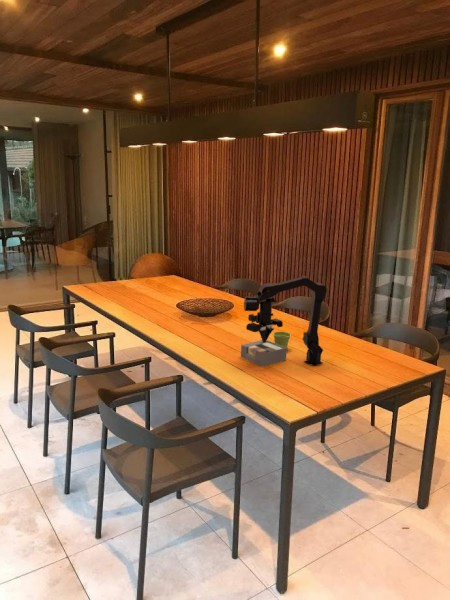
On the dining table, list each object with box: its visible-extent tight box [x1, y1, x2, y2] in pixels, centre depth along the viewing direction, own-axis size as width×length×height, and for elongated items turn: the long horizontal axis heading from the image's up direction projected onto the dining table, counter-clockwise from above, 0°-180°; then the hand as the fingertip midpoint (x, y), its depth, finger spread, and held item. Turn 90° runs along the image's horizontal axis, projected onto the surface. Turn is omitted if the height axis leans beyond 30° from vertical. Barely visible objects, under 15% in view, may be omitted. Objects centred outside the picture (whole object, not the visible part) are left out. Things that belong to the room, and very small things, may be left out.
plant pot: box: [272, 331, 292, 349], centre depth 253 cm, size 9×9×9 cm
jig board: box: [240, 339, 288, 368], centre depth 239 cm, size 16×16×6 cm
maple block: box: [248, 345, 267, 356], centre depth 235 cm, size 9×4×4 cm, turn 37°
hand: (263, 342), depth 230 cm, fingers closed
